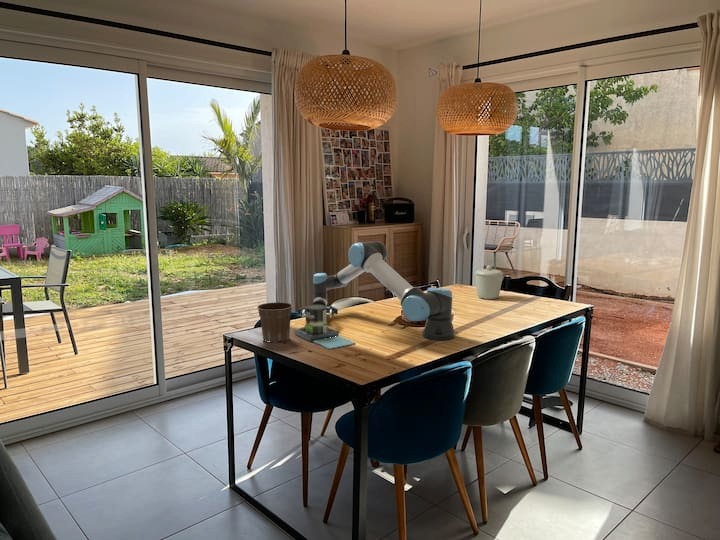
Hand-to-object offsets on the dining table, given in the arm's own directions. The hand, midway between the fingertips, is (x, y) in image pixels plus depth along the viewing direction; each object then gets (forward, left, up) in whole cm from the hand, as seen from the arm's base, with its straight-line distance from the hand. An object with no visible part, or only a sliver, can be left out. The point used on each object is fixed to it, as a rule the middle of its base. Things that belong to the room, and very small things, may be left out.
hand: (316, 315), depth 266 cm
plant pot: (+23, +2, -8) cm, 25 cm away
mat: (+5, +23, -8) cm, 25 cm away
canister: (-129, -5, -8) cm, 130 cm away
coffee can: (+4, +7, -8) cm, 12 cm away
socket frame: (+4, +7, -8) cm, 11 cm away
